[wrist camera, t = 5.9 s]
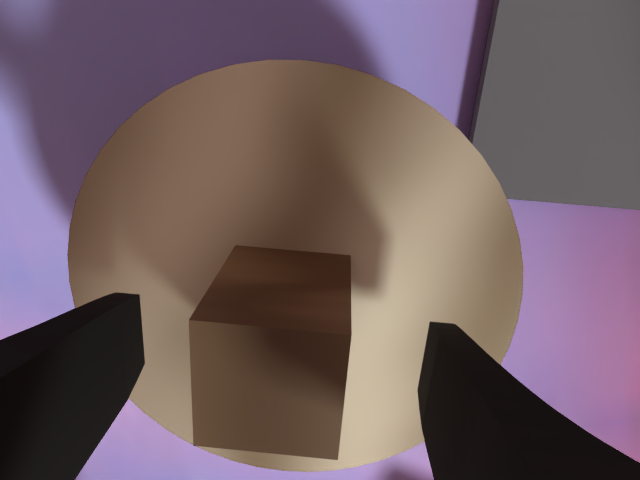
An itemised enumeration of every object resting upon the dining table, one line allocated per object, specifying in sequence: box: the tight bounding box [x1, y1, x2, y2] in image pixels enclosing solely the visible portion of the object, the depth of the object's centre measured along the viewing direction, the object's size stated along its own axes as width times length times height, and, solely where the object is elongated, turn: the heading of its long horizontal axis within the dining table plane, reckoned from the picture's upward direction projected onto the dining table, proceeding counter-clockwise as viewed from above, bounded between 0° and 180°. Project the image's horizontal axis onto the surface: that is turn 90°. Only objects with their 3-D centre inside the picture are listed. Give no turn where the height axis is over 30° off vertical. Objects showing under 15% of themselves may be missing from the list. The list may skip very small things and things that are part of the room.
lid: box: [68, 60, 523, 472], centre depth 12 cm, size 13×13×5 cm
